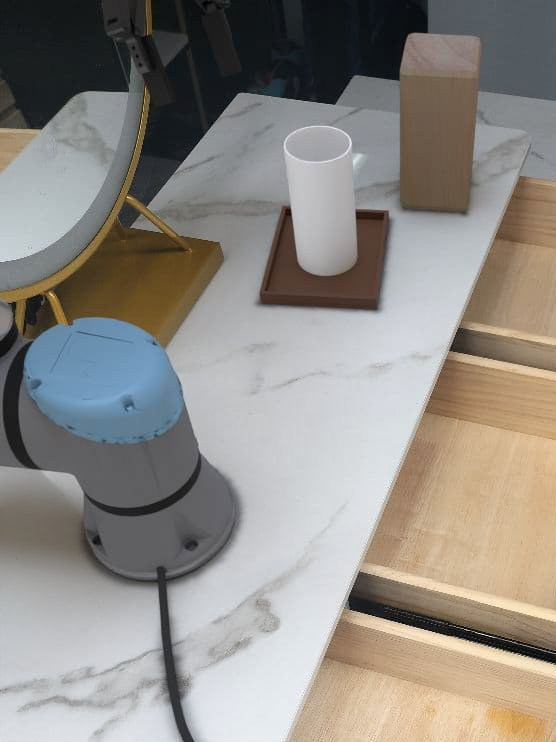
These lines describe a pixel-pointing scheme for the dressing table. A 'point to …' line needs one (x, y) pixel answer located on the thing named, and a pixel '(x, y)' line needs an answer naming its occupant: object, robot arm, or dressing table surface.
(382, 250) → the tray
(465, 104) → the wooden block
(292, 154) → the cup
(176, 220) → the dressing table surface
